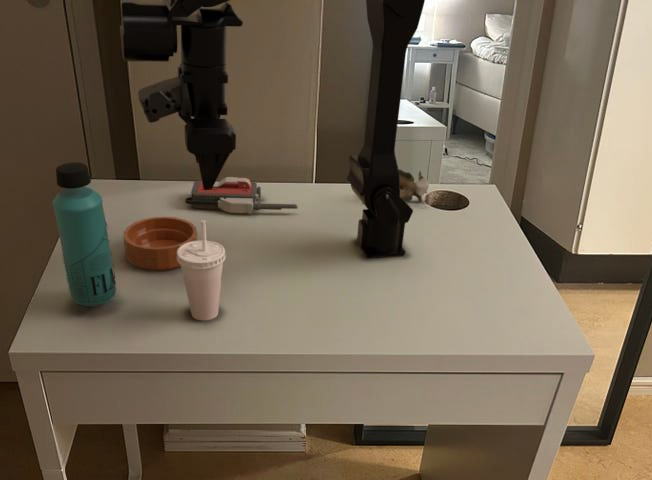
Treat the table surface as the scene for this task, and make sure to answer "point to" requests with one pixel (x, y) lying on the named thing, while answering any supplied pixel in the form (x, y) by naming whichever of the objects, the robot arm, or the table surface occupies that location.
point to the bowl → (157, 241)
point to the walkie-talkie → (231, 196)
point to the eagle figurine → (412, 186)
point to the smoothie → (202, 275)
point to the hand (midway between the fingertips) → (203, 175)
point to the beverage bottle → (83, 237)
